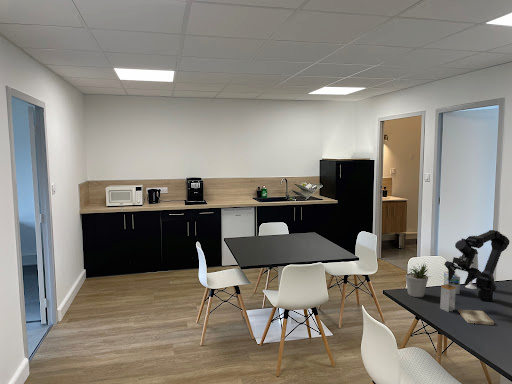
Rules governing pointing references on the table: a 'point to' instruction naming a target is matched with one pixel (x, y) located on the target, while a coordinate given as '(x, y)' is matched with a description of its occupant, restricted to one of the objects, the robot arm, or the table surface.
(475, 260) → the champagne flute
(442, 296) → the aluminium block
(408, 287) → the potted plant
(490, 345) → the table surface
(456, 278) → the light bulb box
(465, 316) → the birch board
